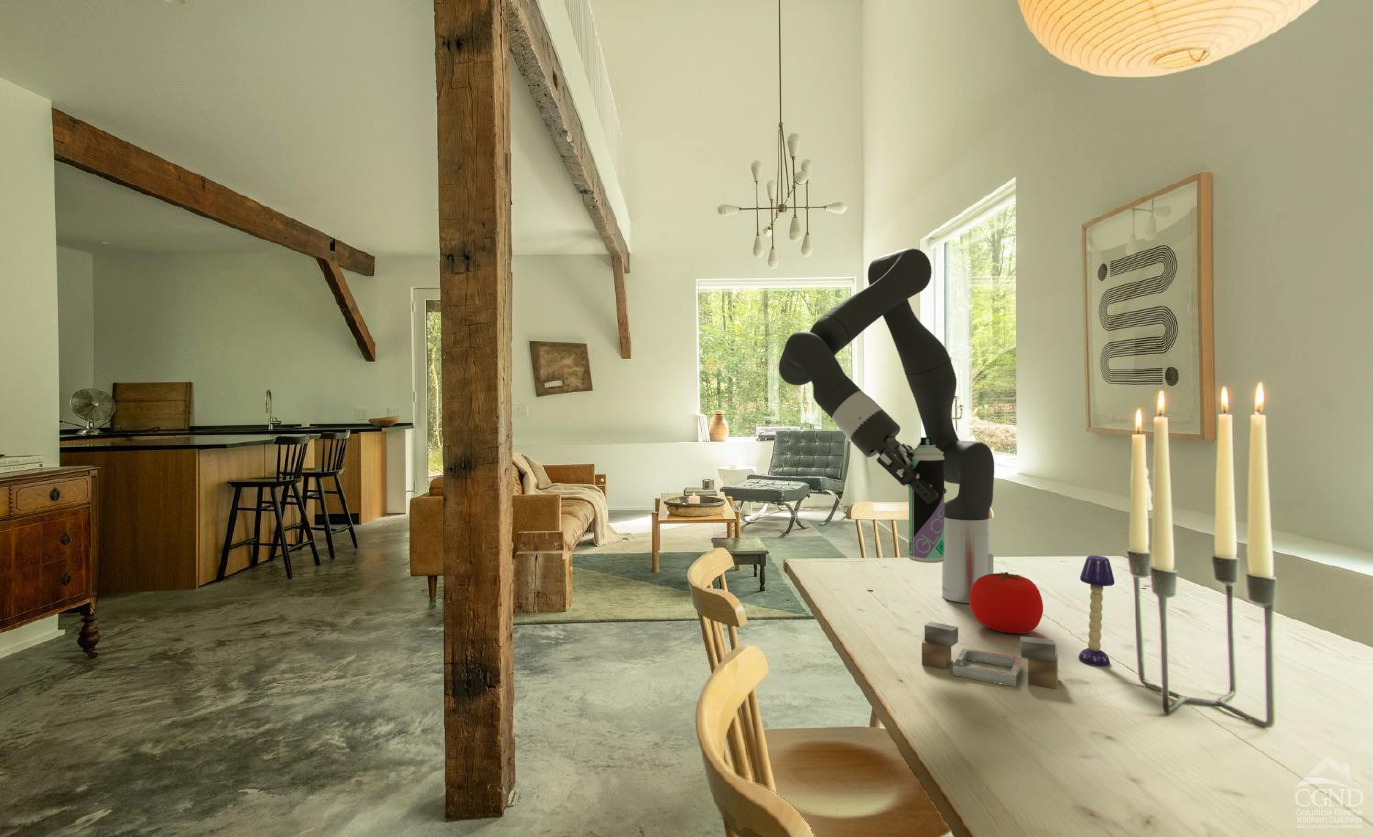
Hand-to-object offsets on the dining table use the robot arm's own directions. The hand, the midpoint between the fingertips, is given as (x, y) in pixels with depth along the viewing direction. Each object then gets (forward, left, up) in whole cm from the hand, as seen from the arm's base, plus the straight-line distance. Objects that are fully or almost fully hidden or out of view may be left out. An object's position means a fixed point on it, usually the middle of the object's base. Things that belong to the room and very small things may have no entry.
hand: (938, 497), depth 111 cm
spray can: (+1, -1, -10) cm, 11 cm away
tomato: (-19, -8, -26) cm, 34 cm away
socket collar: (-3, +8, -26) cm, 27 cm away
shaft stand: (-3, +8, -26) cm, 27 cm away
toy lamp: (-22, +9, -26) cm, 35 cm away
